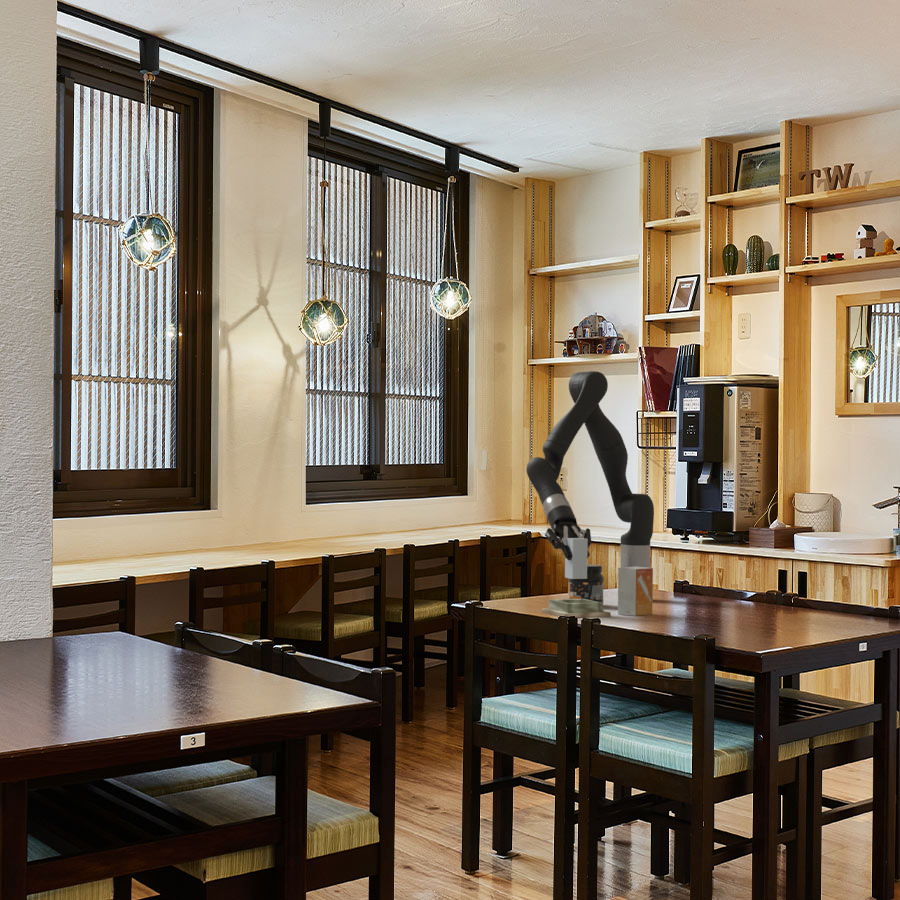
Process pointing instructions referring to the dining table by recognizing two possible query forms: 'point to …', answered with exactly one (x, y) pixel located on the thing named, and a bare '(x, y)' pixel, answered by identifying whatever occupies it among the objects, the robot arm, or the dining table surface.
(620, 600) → the small box
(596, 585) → the supplement container
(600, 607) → the cradle jig
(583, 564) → the block
